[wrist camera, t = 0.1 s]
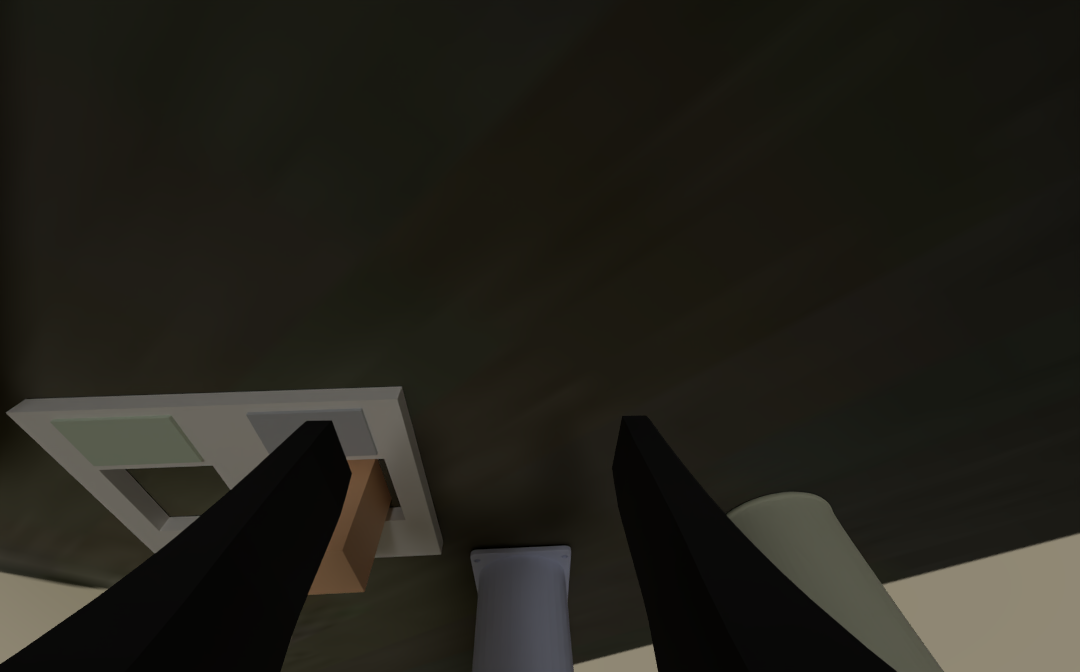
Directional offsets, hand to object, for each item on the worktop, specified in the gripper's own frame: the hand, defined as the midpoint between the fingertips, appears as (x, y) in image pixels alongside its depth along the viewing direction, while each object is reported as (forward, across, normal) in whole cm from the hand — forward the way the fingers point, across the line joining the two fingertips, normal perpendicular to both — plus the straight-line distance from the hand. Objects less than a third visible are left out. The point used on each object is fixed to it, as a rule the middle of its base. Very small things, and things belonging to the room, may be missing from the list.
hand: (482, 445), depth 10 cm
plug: (+10, +10, +15) cm, 21 cm away
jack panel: (+10, +15, +15) cm, 24 cm away
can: (+10, -21, +22) cm, 32 cm away
